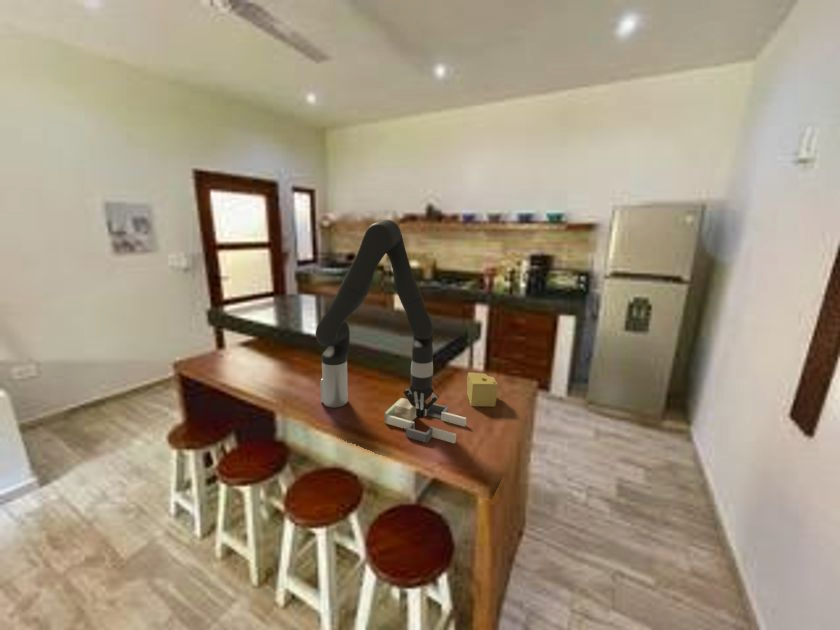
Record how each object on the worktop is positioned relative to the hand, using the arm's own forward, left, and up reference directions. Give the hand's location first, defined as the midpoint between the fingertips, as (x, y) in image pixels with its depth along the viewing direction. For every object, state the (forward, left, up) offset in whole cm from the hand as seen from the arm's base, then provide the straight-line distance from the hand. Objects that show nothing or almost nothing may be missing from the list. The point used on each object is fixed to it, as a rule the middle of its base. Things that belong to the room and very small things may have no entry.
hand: (420, 417), depth 130 cm
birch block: (-6, 0, -2) cm, 6 cm away
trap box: (+2, 0, -2) cm, 3 cm away
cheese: (+15, +26, -2) cm, 30 cm away
